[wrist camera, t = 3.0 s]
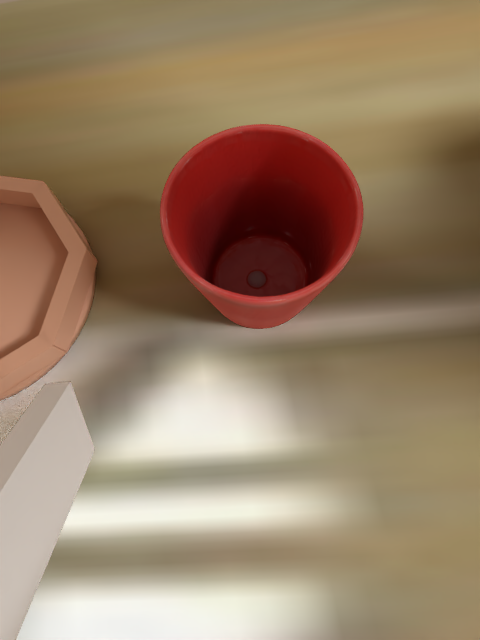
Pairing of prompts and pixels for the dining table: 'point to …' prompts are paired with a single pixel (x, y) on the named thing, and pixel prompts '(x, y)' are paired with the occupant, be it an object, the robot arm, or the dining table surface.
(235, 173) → the flower pot
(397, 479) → the dining table surface
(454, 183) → the dining table surface
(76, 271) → the terracotta saucer
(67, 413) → the robot arm
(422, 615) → the dining table surface
